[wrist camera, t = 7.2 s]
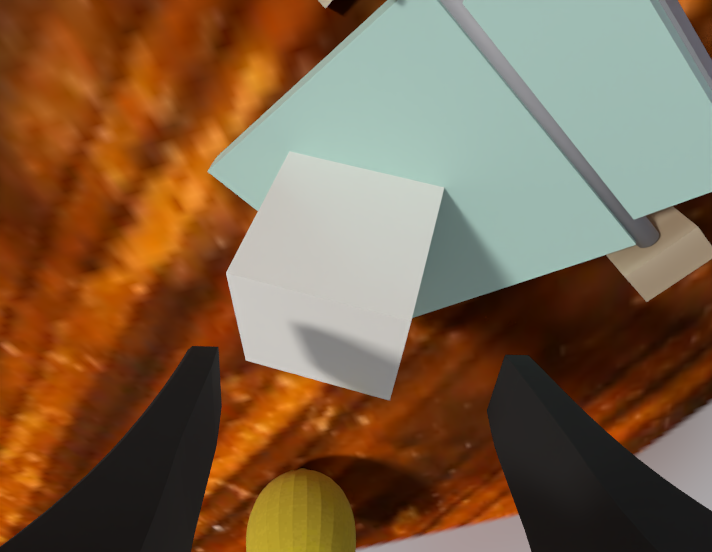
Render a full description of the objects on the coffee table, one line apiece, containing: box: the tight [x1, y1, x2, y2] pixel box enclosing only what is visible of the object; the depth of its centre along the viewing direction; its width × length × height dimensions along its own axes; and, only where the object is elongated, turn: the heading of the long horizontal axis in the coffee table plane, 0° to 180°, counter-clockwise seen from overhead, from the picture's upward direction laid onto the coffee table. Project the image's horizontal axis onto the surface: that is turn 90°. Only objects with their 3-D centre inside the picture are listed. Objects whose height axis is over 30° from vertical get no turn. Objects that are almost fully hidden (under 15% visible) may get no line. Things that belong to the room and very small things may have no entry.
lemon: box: [246, 468, 356, 552], centre depth 28 cm, size 6×6×8 cm
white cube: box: [226, 151, 444, 400], centre depth 18 cm, size 5×5×5 cm
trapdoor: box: [208, 0, 712, 318], centre depth 17 cm, size 11×14×2 cm
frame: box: [318, 0, 712, 302], centre depth 16 cm, size 14×6×7 cm, turn 45°
